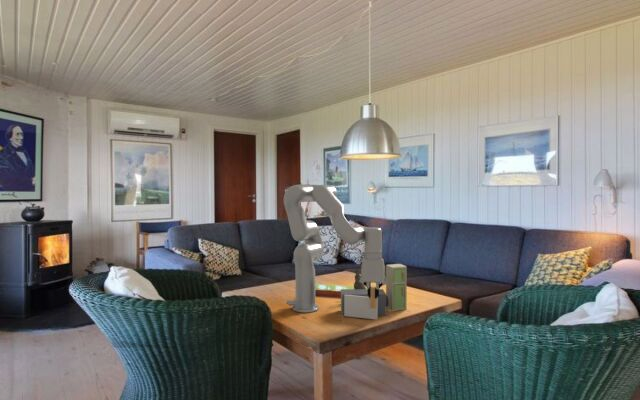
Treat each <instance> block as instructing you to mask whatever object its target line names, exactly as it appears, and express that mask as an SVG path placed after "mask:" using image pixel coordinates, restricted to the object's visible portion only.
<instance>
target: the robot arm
mask: <svg viewBox="0 0 640 400" xmlns="http://www.w3.org/2000/svg"><path fill="white" fill-rule="evenodd" d="M283 195H284V196H283V205H284V209H285V211H286V215H287V220H288V221H287V222H288V225H289V228H290V233H291V236H292V238H293V240H295V241H296V242H303V241H304V243H300V244H299V245H297V246H296V247H295V249H294V251H293V260H294V266H295V267H294V270H295V272H294V273H295V298H294V299H287V300H286V301H285V302H286V303H285V304H286V305H288V306H292V310H293V311H295V312H296V313H306V314H308V313H312V312H317V311H318V310H319V305H318V304H317V303H316V268H315V265H314V262H316V261H319V260H320V259H322V258H323V256H324V252H325V250H324V249H325V248H324V243H323V240H322V235H321V232H320V228H319V226H318V225H317V223H316V222H315V221H313V220H309V219H307V217H306V212H305V210H304V208H303V206H302V205H301V203H311V202H315V203H316V204H317V205H318V206H319V207H320V208H321V209H322V211H323V212H324V213H325V214H326V215H327V216H328V217H329V219H330V223H331V226H332V228H333V230H334V231H335V233H336V234H337V235H338V236H339V237H340V238H341V240H342V241H343V242H344V243H346V244H347V245H356V244H360V243H364V251H363V252H361V255H360V256H363V257H364V258H362V261H361V269H360V276H361V278H360V280H359V282H360V283H362V284H364V285H365V287H366V289H368V296H369V298H371V287H372V283H374V284H375V287H376V289H375V299H377V297H378V296H379V289H381V287H383V286H386V284H387V283H388V282H387V280H386V266H385V262H384V261H385V260H384V258H383V230H382V228H380V227H377V226H371V227H370V226H365V225H364V226H363V225H354V226H353V225H352V224H351V223H350V222H349V221H348V220H347V218H346V217H345V214H344V210H345V205H344V204H343V203H342V202H341V201H340V200H339V198H338V191H337V189H336V188H335V187H334V185H331V184H294V185H292V186H290V187H288V188H287V189H286V191H285V193H284V194H283Z"/></svg>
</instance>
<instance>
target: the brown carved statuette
mask: <svg viewBox="0 0 640 400" xmlns="http://www.w3.org/2000/svg"><path fill="white" fill-rule="evenodd" d="M360 278H361V270H360V269H355V275H354V283H353V289H367V287H366V286H365V285H364V284H362V283H360V282H359V280H360Z"/></svg>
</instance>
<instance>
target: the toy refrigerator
mask: <svg viewBox="0 0 640 400" xmlns="http://www.w3.org/2000/svg"><path fill="white" fill-rule="evenodd" d="M407 271H408V270H407V265H404V264H402V263H393V264H392V263H391V264H386V266H385V278H386V280H387V282H388V283H387V284H386V285H385V293H386V296H388V301H389V304H388V307H386V309H388V310H389V311H392V312H394V311H395V312H396V311H404V310H407V305H408V304H407V300H408V299H407V297H408V296H407V293H408V292H407V289H408V288H407V285H408V284H407V281H408V280H407V278H408V277H407V276H408V273H407Z"/></svg>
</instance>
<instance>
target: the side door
mask: <svg viewBox="0 0 640 400" xmlns="http://www.w3.org/2000/svg"><path fill="white" fill-rule="evenodd" d="M375 289H376V286H371V298H369V297H365V296H354V295H344V316H343V317H350V318H351V317H352V318H360V319H361V318H362V319H369V320H378V317H379V316H378V298H377V299H375Z"/></svg>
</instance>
